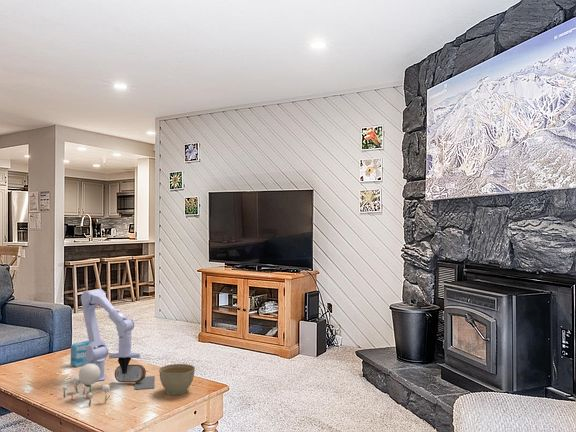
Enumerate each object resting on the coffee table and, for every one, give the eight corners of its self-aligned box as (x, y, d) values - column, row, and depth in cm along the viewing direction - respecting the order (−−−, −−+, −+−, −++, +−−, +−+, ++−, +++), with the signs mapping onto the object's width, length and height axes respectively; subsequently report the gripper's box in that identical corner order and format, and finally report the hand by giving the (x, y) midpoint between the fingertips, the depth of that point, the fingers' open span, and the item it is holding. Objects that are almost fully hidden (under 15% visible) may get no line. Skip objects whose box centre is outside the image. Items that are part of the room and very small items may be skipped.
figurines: (116, 401, 211) (117, 366, 211) (92, 409, 201) (93, 373, 201) (81, 390, 224) (82, 357, 224) (57, 397, 214) (58, 363, 214)
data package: (74, 367, 257) (75, 345, 258) (70, 366, 260) (70, 344, 260) (95, 363, 267) (95, 341, 267) (90, 361, 270) (91, 340, 270)
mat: (134, 389, 225) (134, 389, 225) (136, 378, 242) (136, 377, 242) (154, 388, 227) (154, 387, 227) (154, 376, 244) (154, 375, 244)
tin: (145, 382, 233) (147, 364, 236) (142, 382, 231) (144, 363, 234) (115, 382, 235) (117, 364, 238) (112, 382, 232) (114, 364, 235)
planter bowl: (201, 392, 223) (201, 368, 223) (170, 401, 211) (171, 376, 212) (182, 383, 234) (182, 361, 234) (152, 391, 223) (152, 368, 223)
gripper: (142, 342, 237) (141, 370, 237) (111, 342, 236) (111, 370, 236) (138, 346, 230) (138, 375, 230) (107, 346, 229) (106, 375, 229)
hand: (124, 373), depth 232 cm, fingers closed
